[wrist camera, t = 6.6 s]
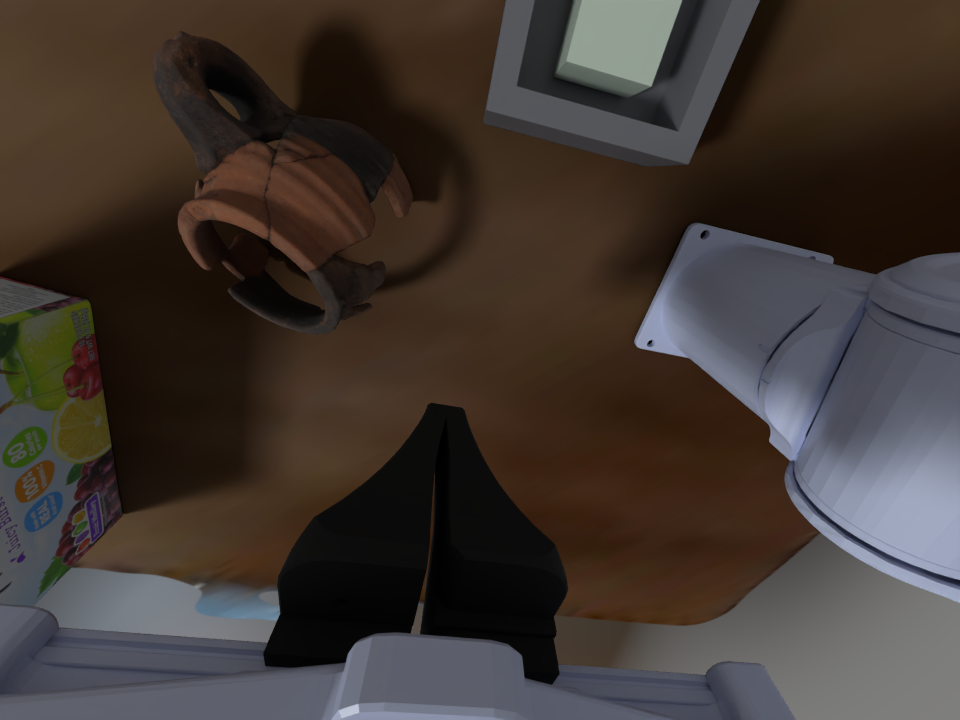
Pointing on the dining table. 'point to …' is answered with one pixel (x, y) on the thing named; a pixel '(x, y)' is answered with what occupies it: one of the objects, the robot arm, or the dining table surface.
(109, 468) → the snack box
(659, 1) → the key
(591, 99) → the grey rectangular tray
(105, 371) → the dining table surface
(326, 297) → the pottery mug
